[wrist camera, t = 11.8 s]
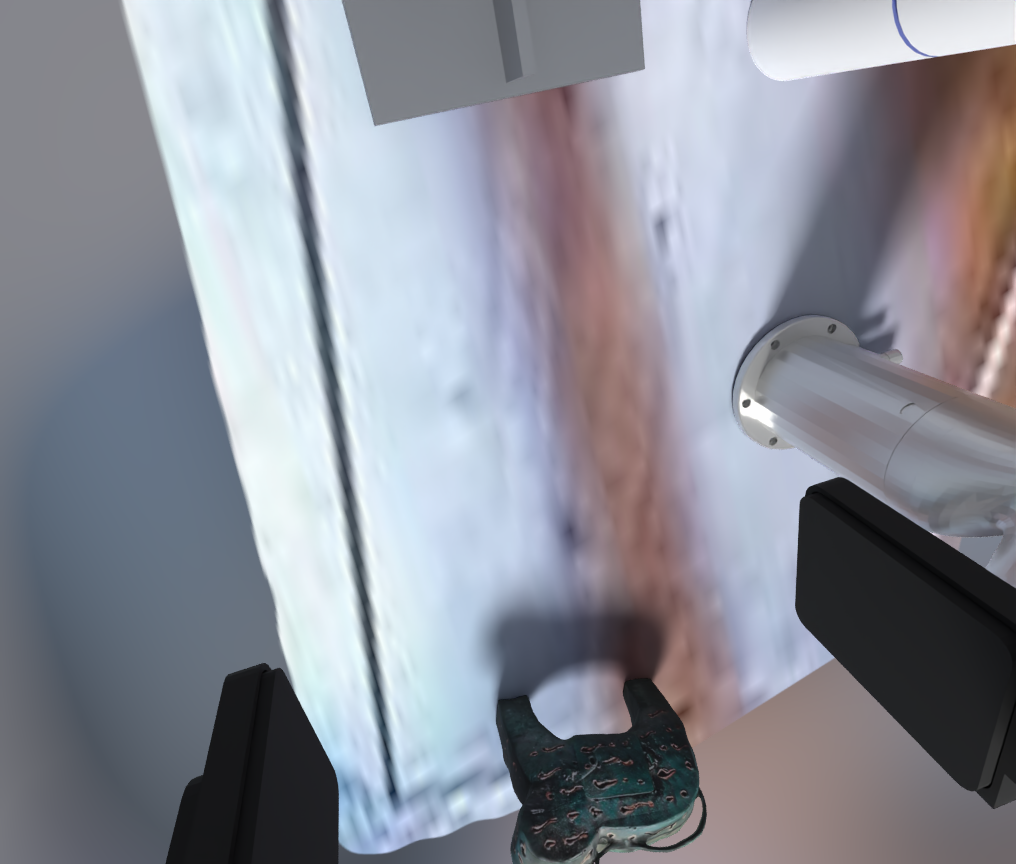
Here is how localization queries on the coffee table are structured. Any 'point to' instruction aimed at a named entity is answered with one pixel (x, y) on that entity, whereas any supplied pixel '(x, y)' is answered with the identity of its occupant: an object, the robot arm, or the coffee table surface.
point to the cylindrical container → (870, 32)
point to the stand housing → (486, 49)
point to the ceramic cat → (599, 782)
